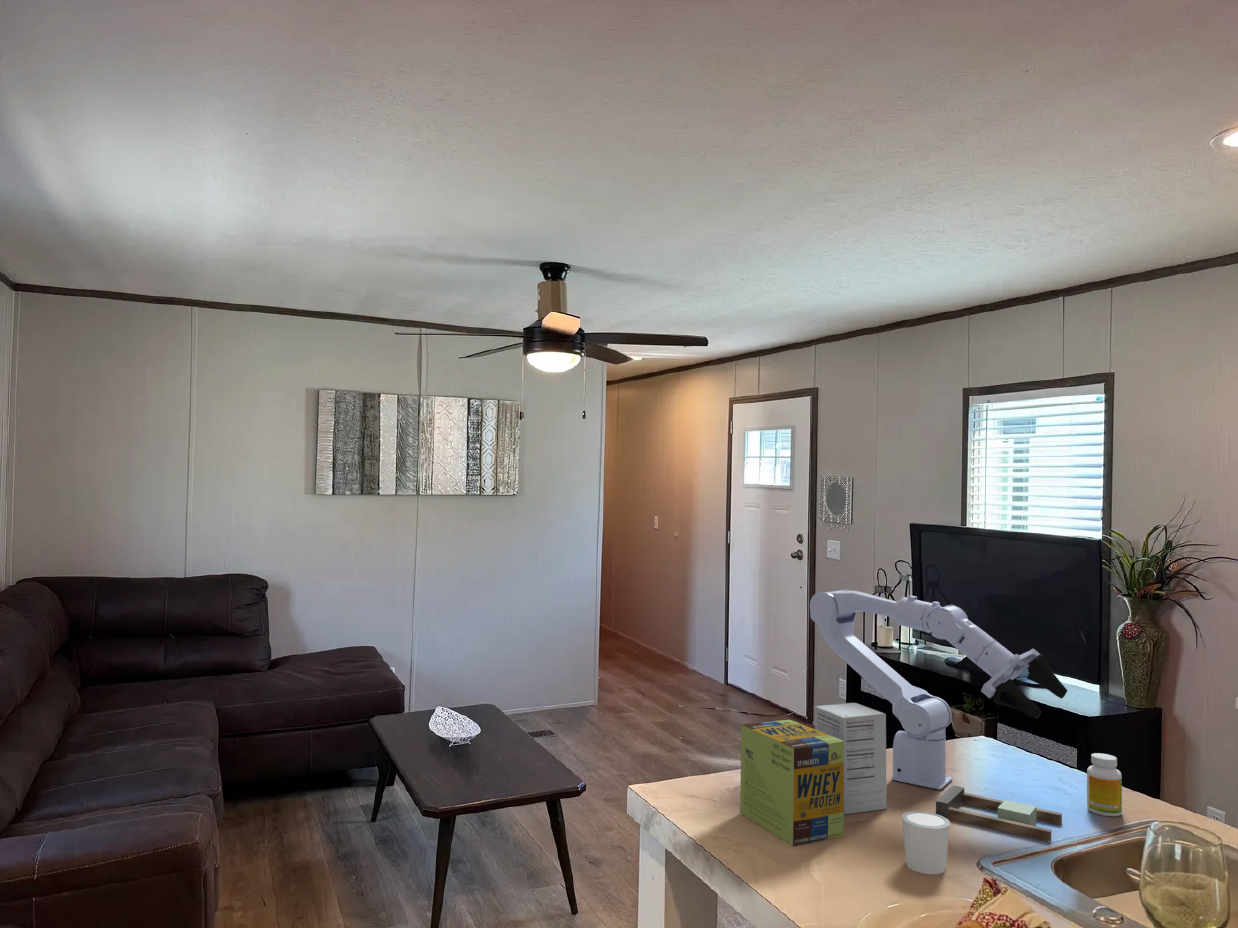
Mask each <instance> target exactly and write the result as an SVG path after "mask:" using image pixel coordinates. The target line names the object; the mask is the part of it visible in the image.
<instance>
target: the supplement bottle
mask: <svg viewBox="0 0 1238 928" xmlns="http://www.w3.org/2000/svg"><path fill="white" fill-rule="evenodd" d="M1090 755H1091V756H1090V757H1091V758H1090V761H1091V764H1092V765H1090V766H1088V768H1087V769H1086V805H1087V806H1086V807H1087V810H1089V811H1090V812H1091V813H1094V814H1096V815H1100V816H1104V817H1119V816H1121V815H1123V814H1122V813H1123V790H1122V789H1123V788H1122V787H1123V784H1122V783H1123V782H1122V781H1123V780H1122V772H1121V771H1120V770H1119V769H1117V767H1118V758H1117V757H1116V756H1115V755H1111V754H1109V753H1103V752H1102V753H1100V752H1097V753H1096V752H1094V753H1091V754H1090Z"/></svg>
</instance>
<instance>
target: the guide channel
mask: <svg viewBox="0 0 1238 928" xmlns="http://www.w3.org/2000/svg"><path fill="white" fill-rule="evenodd" d="M1004 801H1005V800H1001V799H996V798H993V797H987V796H981V795H977V794H974V793H973V794H972V793H968V792H965V787H963V786H957V785H954V784H952V786H951V787H949V788H948V789H947V790H946V791H945V792H944V793H943V794H941V796H939V797H938V798H937V800H935V814H937V815H940V816H943V817H945V818H946V819H948V820H954V821H956V822H957V821H958V822H962V823H966V824H970V825H975V826H979V827H980V826H981V827H983V828H988V829H992V830H997V831H1001V832H1006V833H1009V834H1014V835H1018V836H1023V837H1027V838H1031V839H1036V840H1040V841H1044V842H1048V841H1050V842H1051V841H1052V829H1050V828H1047V827H1041V826H1037V825H1035V826H1033V825H1028V824H1024V823H1019V822H1015V821H1010V820H1006V819H1001V818H998V816H997V817H996V816H993V815H991V816H990V815H987V814H984V813H978V812H975V811H970V810H965V809H960V808H959V807H961V806H962V805H963V804H964V805H968V806H974V807H977V808H980V809H981V808H982V809H987V810H992V811H995V812H998V807H999V806H1000V805H1001V804H1002V803H1003V802H1004ZM1036 821H1041V822H1047V823H1051V824H1054V825H1055V824H1056V825H1062V824H1063V813H1062V812H1058V811H1053V810H1047V809H1044V808H1038V807H1036Z"/></svg>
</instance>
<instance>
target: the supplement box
mask: <svg viewBox="0 0 1238 928" xmlns="http://www.w3.org/2000/svg"><path fill="white" fill-rule="evenodd" d="M814 729H815V730H818V731H820V732H823V733H825V734H827V735H830V736H833V737H835V738H838V739H841V740H843V741H844V815H848V814H850V815H851V814H858V813H864V812H865V813H866V812H873V811H880V810H887V714H886V713H884V712H882V711H879V710H876V709H873V708H871V707H868V706H865V705H862V704H859V703H857V702H846V703H834V704H823V705H815V706H814Z"/></svg>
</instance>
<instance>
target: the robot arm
mask: <svg viewBox="0 0 1238 928" xmlns="http://www.w3.org/2000/svg"><path fill="white" fill-rule="evenodd" d="M940 603H941V602H939V601H932V602H929V601H923V600H919V599H918V596H917V595H916V596H915V595H908V596H907V597H906V596H904V597H902V598H900V599H899V600H898V601H895V600H892V599H888V598H885V597H881V596H877V595H873V594H870V593H866V592H863V591H859V590H848V589H838V590H835V591H834V590H833V591H827V592H825V591H819V592H817V593H815V594H813V595H812V597H811V599H810V602H809V611H810V612H809V613H810V614H809V615H810V619H811V620H812V621H813V622H814V623H815V624H816V625H817V627H818V628H819V630H820V633H821V634H822V636H823V639H824V641H825V642H826V645H827V646H828V647H829V648H830V650H832V651H833V652H834V653H835V654H836V655H837V656H839V658H840V659H842V660H843V661H844V662H845V663H846V664H847V665H849V667H851V668H852V669H853V670H854V671H855V672H856V673H857V674H859V676H860V677H862V678H863V679H864V680H865V681H866V682H867V683H868V684H869V685H870V686H872V687H873V688H874V689H875V690H876V691H878V693H879V694H880V695H882V696H883V698H885V699H886V700H887V701H888V702H890V704H892V705H891V706H892V714H893V715H894V716H895V717H896V718H897V719H898V720H899V722H900V723H901V726H902V728H903V729H904V730H898V731H897V732H896V733H895V735H894V737H893V744H892V777H891V780H892V781H898V782H902V783H906V784H911V785H915V786H920V787H924V788H929V789H934V790H939V791H941V790H942V789H944V788H945V787H946V786H947V785H948V784H950V782H951V781H953V777H952V776H949V775H947V774H946V773H947V772H946V770H947V769H946V766H947V763H946V759H947V758H946V757H947V755H946V753H947V752H946V750H947V749H946V747H947V745H946V743H947V742H946V737H947V735H946V728H947V727H948V726H949V725H950V724H951V721H952V709H951V707H950V706H949V704H948V703H947V701H945V700H944V699H942V698H940V697H939V696H935V695H933V694H932V695H931V694H930V693H928V691H927V690H925V689H923V688H920V687H917V686H914V685H912V684H911V683H910V682H909V681H907V680H906V679H905V678H904V677H903V676H902V675H900V674H899V673H898V672H897V671H896V670H894V668H892V667H891V666H890V665H889V664H888V663H886V662H885V660H883V659H882V658H881V657H880V656H878V654H876V652H874V651H872V649H870V648H869V647H868V646H867V645H866V644H865V643H864V642H862V641H861V639H859V638H858V637H856V636H855V634H854V632H855V631H854V629H855V625H856V624H855V623H856V619H857V613H859V612H865V613H870V614H874V615H881V616H884V617H889V618H890V617H891V618H893V619H894V621H895V622H896V623H897V625H898V626H901V627H906V628H909V629H912V630H913V629H914V630H917V631H920V632H921V631H922V632H924V633H925V632H926V633H929V634H930V633H931V636H933V637H934V638H936V639H938V640H946V641H947V642H948V643H949V644H951V645H952V646H953V647H955V649H956V650H958V651H959V652H960V653H962V655H964V656H966V658H968V659H969V660H970V661H971V662H972V663H974V664H975V665H977V666H978V667H979V668H980V669H982V671H983V672H985V673H986V674H988V675H989V676H990V679H989V680H988V681H987V682H985V683H984V684H983V686H982V688H981V690H980V692H981V693H983V694H984V695H985V696H986V697H987V698H989V699H991V698H992V697H993V698H992V701H993V702H994V704H996V705H999V706H1004V707H1008V708H1011V709H1014V710H1016V711H1018V712H1020V713H1023V714H1025V715H1027V716H1029V717H1030V718H1032V719H1034V720H1037V719H1038V718H1039V717H1040V715H1041V713H1042V711H1043V710H1041V708H1040V707H1039V706H1038V705H1037V704H1036V703H1034V701H1032V700H1031V699H1030V698H1029V697H1028V696H1026V694H1024V692H1022V691H1021V689H1020V688H1019V687H1018V686H1017V685H1016V683H1015V682H1014V679H1016V678H1017V677H1018V676H1020V675H1021V674H1022V673H1024V672H1025V671H1026V670H1027V673H1028V674H1027V676H1026V679H1027V680H1029V681H1031V682H1034V683H1036V684H1038V685H1040V686H1041V687H1043V688H1045V689H1046V690H1048V691H1049V692H1050V693H1052V694H1053V695H1054V696H1055V697H1058V698H1060V699H1061V700H1063V698H1065V696H1066V694H1067V693H1068V691H1069V690H1068V688H1066V687H1065V685H1063V683H1062V682H1061V681H1060V680H1059V678H1058V677H1057V676H1056V674H1055V673H1054V671H1053V670H1052V668H1051V667H1050V665H1049V663H1048V660H1047V658H1046V656H1044V655H1043V654H1042V653H1039V652H1038V651H1037V650H1036V649H1034V648H1031V649H1030V650H1028V651H1025V652H1023V653H1022V654H1017V653H1015V654H1013V653H1012V652H1011V651H1010V650H1008V649H1007V647H1005V646H1004V645H1002V644H1001V643H1000V642H998V641H997V639H994V638H993V637H992V636H990V634H988V633H987V632H986V631H985V630H983V629H982V628H980V627H979V626H978V625H976V624H974V623H973V622H972V621H971V620H969V617H968V615H967V613H966V612H965V610H963V609H962V608H961V607H959V606H957V605H954V604H948V605H947V604H946V605H945V606H941V605H940Z"/></svg>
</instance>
